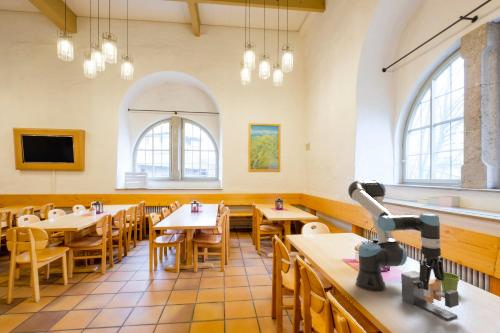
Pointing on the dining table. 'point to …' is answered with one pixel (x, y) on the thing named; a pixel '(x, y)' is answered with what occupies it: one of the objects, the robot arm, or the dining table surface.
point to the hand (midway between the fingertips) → (432, 294)
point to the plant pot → (449, 282)
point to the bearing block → (420, 295)
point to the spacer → (434, 286)
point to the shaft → (447, 297)
